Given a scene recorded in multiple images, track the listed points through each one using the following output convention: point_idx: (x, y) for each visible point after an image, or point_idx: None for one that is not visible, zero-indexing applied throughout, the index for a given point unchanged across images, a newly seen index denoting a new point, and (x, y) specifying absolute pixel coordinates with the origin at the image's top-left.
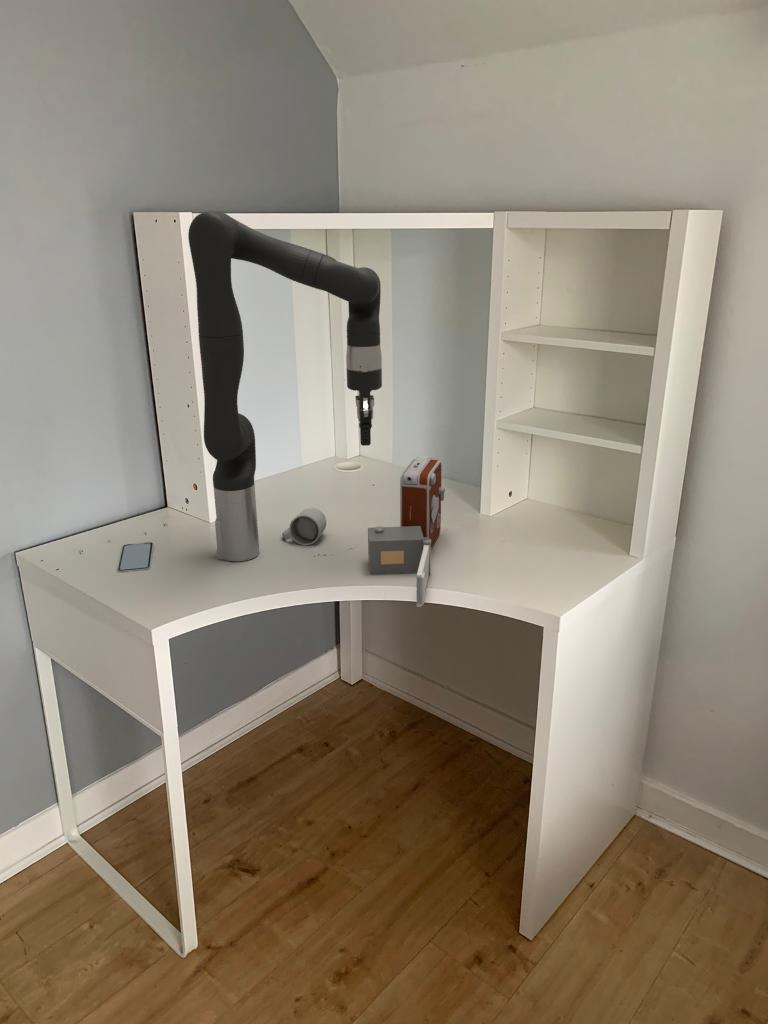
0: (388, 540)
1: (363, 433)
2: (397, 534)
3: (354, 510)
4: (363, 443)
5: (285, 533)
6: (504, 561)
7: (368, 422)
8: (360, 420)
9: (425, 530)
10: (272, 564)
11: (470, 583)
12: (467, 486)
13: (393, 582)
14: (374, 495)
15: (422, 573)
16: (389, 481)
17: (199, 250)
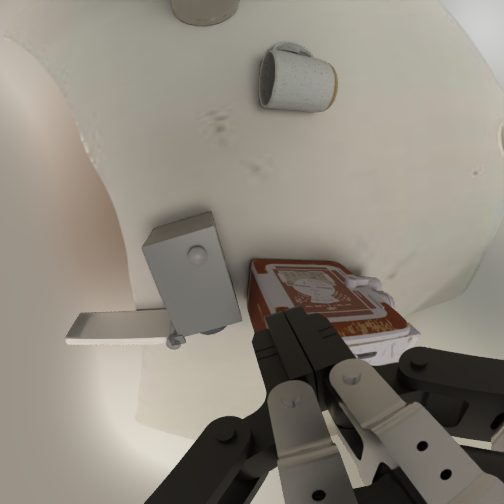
0: (155, 282)
1: (264, 382)
2: (190, 292)
3: (409, 151)
4: (255, 336)
5: (274, 47)
6: (243, 382)
7: (254, 478)
8: (149, 500)
9: (251, 319)
10: (168, 57)
11: (168, 359)
12: (460, 290)
13: (138, 270)
14: (452, 177)
15: (75, 343)
16: (482, 193)
17: None
